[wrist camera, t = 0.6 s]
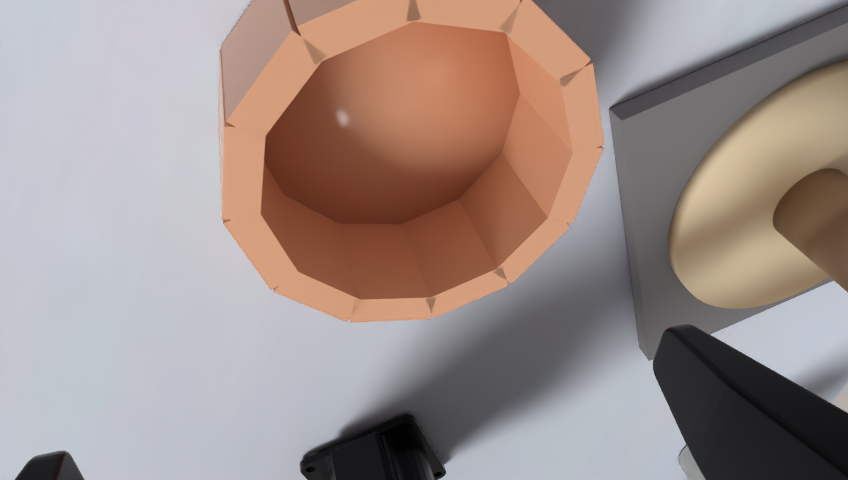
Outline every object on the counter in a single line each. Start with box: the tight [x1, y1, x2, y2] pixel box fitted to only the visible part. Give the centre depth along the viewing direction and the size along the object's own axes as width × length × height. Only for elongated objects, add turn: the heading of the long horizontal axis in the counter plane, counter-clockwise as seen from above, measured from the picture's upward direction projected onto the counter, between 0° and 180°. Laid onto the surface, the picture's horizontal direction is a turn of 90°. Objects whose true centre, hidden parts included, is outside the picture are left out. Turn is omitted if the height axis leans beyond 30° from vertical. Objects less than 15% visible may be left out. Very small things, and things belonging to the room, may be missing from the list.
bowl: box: [219, 0, 604, 322], centre depth 20 cm, size 11×11×5 cm
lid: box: [668, 60, 848, 309], centre depth 27 cm, size 13×13×6 cm
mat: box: [609, 5, 848, 361], centre depth 30 cm, size 16×16×1 cm
